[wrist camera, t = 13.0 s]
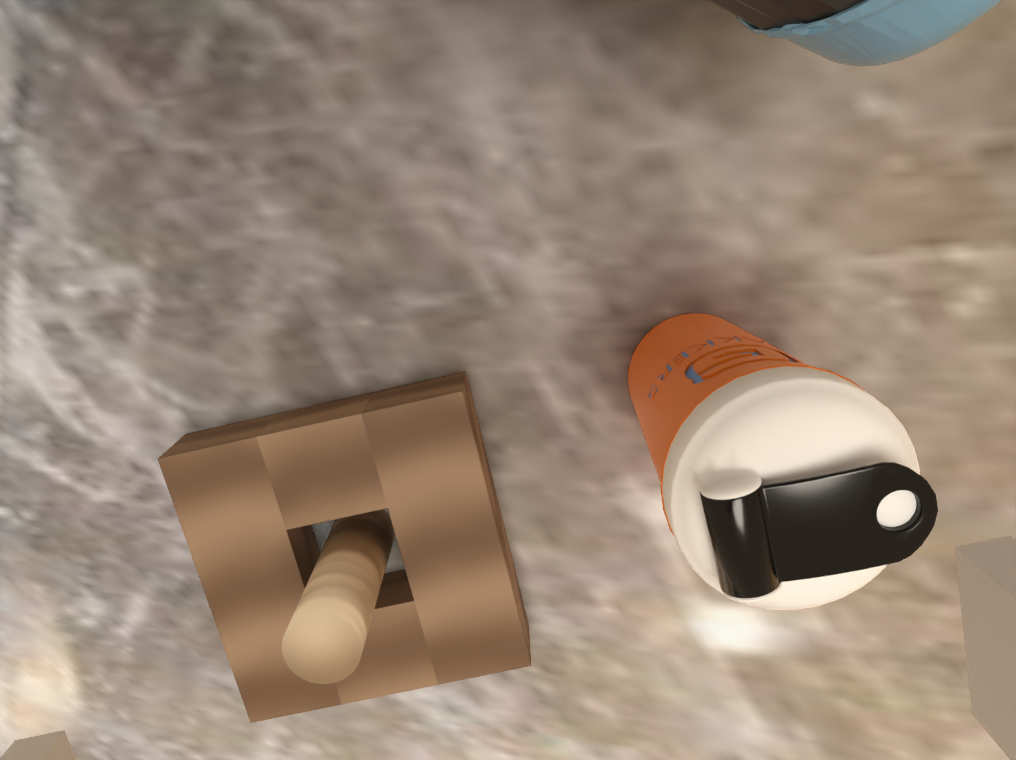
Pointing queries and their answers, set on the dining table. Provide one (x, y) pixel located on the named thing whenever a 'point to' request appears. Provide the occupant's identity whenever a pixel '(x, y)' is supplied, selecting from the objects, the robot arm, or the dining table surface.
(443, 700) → the dining table surface
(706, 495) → the shaker bottle
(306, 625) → the peg
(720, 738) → the dining table surface
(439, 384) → the socket block
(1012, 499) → the dining table surface
